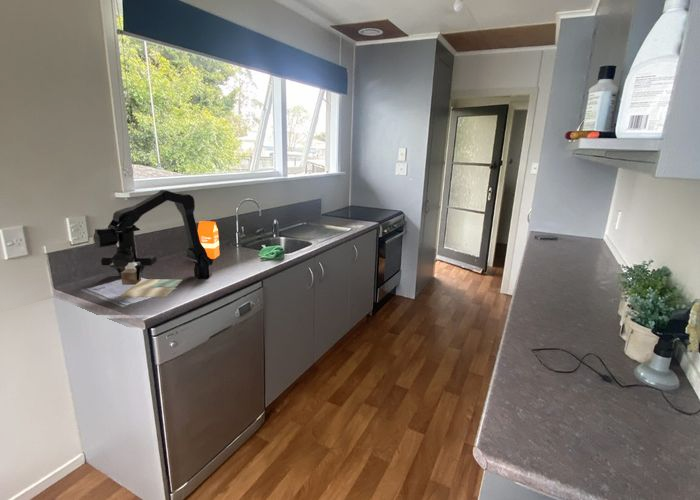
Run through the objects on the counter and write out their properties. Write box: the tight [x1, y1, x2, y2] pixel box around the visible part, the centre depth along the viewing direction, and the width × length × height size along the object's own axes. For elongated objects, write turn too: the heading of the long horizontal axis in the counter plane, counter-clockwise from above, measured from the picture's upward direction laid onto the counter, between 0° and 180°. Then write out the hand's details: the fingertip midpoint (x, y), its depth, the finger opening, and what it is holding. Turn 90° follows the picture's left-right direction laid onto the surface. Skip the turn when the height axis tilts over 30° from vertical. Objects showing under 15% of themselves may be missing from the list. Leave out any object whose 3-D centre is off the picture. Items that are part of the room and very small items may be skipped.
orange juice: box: [197, 220, 220, 260], centre depth 203 cm, size 8×9×20 cm
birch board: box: [118, 278, 183, 298], centre depth 157 cm, size 18×20×1 cm
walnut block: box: [120, 269, 142, 286], centre depth 148 cm, size 5×5×5 cm
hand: (131, 280), depth 149 cm, fingers closed on walnut block, 5 cm apart
